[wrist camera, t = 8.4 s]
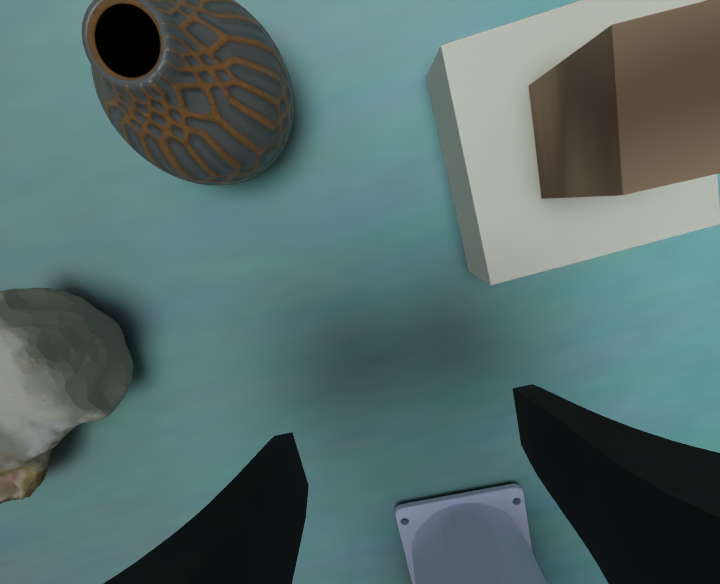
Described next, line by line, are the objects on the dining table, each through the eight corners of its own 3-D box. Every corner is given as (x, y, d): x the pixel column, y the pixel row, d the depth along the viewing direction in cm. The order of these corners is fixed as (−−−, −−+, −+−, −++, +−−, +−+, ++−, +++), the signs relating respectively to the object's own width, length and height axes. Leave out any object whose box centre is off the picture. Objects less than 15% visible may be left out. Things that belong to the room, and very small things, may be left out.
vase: (309, 48, 18) (258, -103, 9) (300, 195, 19) (248, 186, 11) (166, 32, 17) (-23, -136, 9) (168, 181, 19) (9, 160, 10)
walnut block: (649, 173, 15) (782, 158, 10) (541, 198, 16) (622, 195, 11) (643, 56, 14) (788, -21, 9) (528, 85, 15) (611, 24, 10)
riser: (649, 220, 20) (720, 223, 16) (466, 270, 20) (490, 285, 16) (627, 16, 17) (703, -39, 14) (424, 80, 18) (440, 45, 14)
